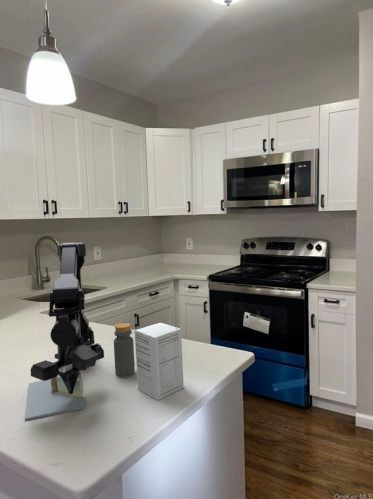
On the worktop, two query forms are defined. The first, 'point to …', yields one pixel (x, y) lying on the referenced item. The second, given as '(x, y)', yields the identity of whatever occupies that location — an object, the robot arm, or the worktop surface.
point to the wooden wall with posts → (54, 383)
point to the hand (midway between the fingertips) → (70, 393)
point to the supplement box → (159, 360)
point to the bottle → (124, 351)
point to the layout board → (50, 401)
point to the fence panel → (77, 389)
